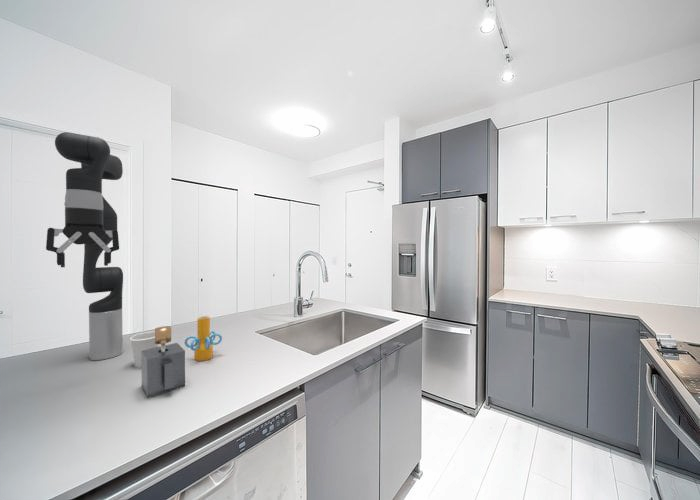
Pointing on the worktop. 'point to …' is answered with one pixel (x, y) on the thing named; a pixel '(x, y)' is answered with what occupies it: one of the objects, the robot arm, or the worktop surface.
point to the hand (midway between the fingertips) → (85, 266)
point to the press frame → (163, 369)
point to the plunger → (163, 336)
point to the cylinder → (203, 340)
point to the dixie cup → (142, 345)
